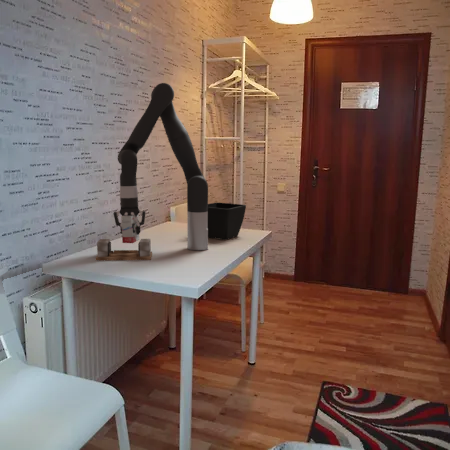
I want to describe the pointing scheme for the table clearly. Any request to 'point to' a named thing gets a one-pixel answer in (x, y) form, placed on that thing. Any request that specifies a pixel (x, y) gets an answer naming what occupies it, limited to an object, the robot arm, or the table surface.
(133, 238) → the ink box
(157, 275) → the table surface
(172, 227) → the table surface
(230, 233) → the flower pot
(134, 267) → the table surface
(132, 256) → the rail
